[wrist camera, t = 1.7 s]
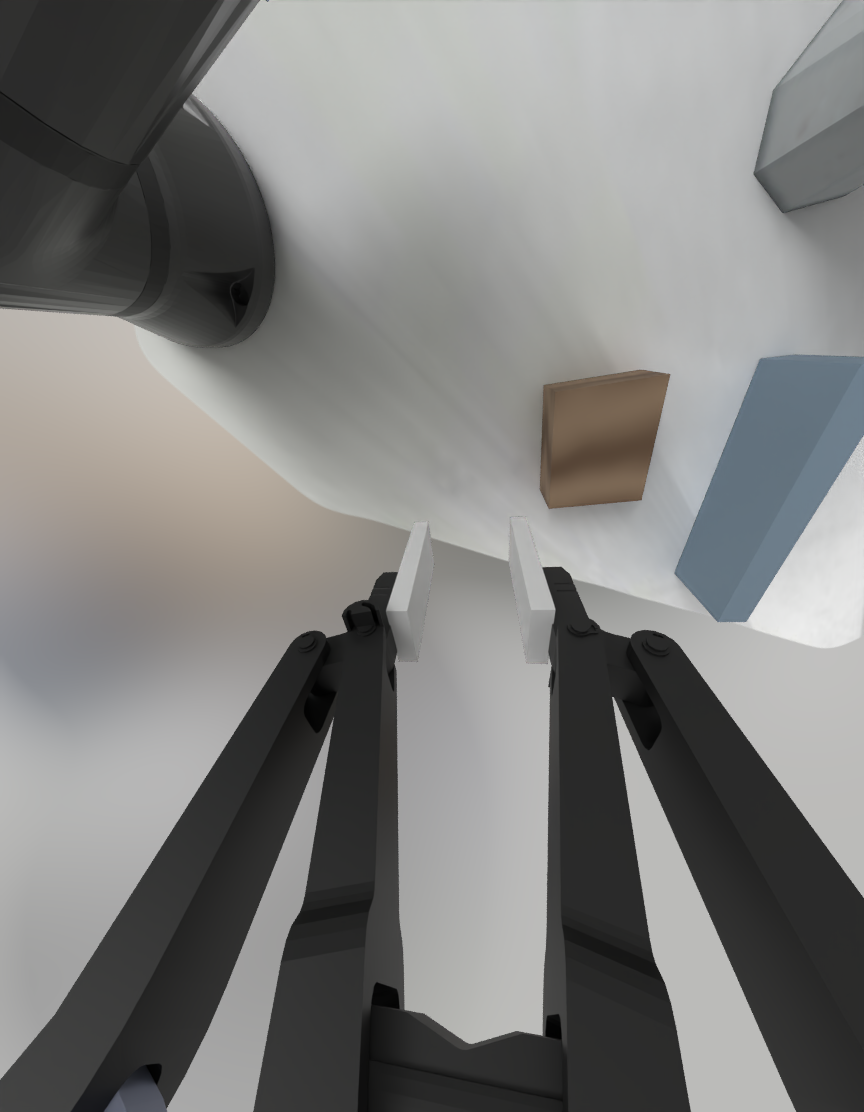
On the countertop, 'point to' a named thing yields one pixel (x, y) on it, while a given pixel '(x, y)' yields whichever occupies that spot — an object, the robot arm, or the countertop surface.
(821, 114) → the coffee maker
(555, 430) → the walnut block
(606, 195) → the countertop surface
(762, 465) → the slate board
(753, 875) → the robot arm
